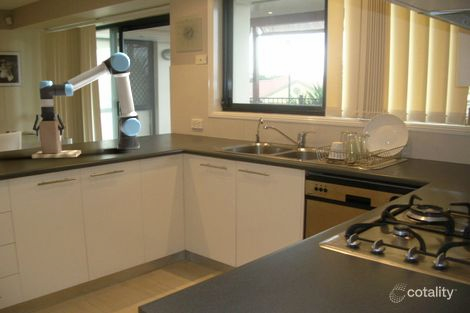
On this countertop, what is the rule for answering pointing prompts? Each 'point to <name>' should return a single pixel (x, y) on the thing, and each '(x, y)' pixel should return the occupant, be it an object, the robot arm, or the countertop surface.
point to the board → (57, 154)
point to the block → (49, 137)
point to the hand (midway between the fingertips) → (50, 141)
